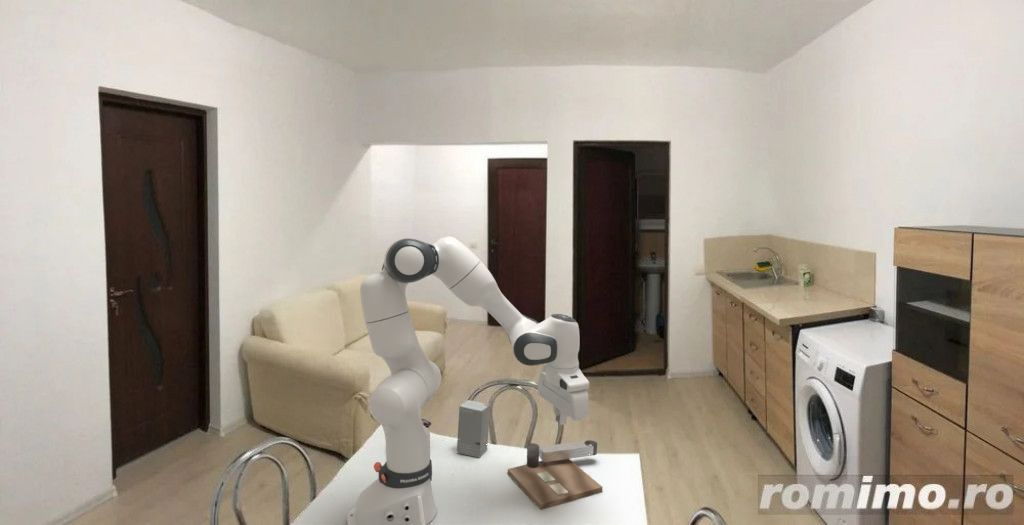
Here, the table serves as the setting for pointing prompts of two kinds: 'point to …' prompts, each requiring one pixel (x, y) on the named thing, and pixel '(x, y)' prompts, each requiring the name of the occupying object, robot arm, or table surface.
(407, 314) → the robot arm
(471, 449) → the skincare box
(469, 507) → the table surface
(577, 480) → the label board
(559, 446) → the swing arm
